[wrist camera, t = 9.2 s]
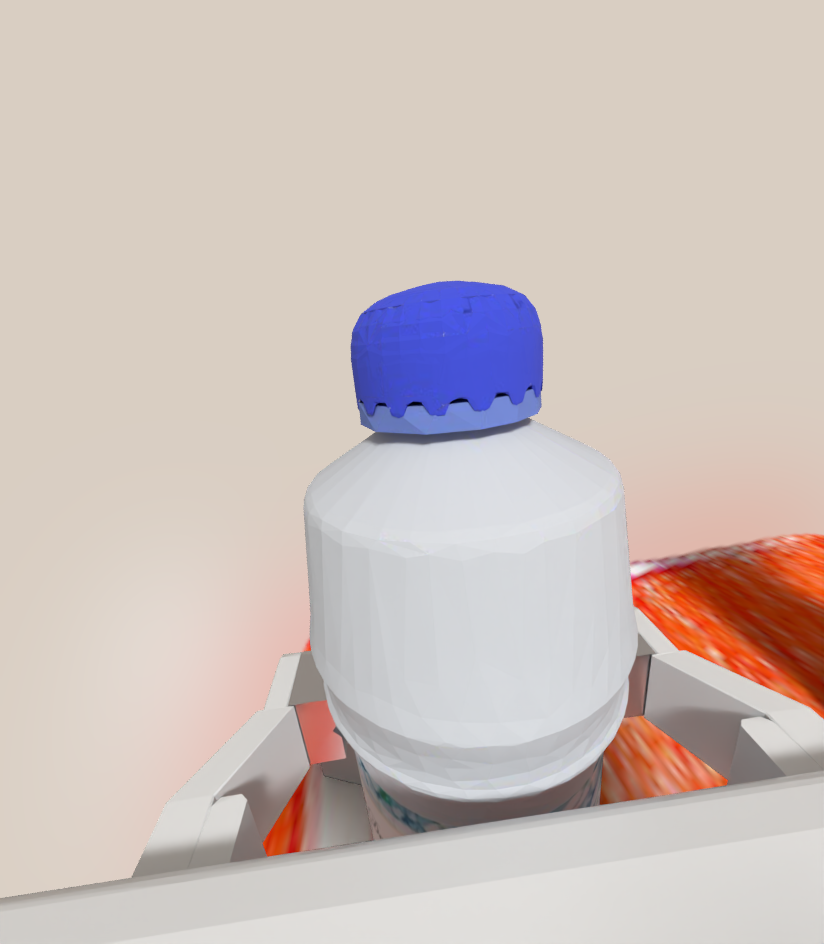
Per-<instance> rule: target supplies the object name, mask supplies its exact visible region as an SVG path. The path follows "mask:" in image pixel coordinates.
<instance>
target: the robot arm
mask: <svg viewBox="0 0 824 944" xmlns="http://www.w3.org/2000/svg"><path fill="white" fill-rule="evenodd" d="M634 612H635V617H636V623H637V628H638V648H637V653H636V657H635V661H634V664H633V666H632V669H631V671H630V673H629V675H628V680H629V693H628V702H627V706H626V711H625V715H624V717H623V718H626V717H635V716H643V715H644V718H646V719H647V720H648V721H650V722H651V723H652V724H654V725H655V726H656V727H658V728H659V729H660V730H662V731H663V732H664V733H666V734H667V735H668V736H670V737H671V738H672V739H674V740H675V741H676V742H678V743H679V744H680V745H682V746H683V747H685V748H686V749H687V750H689V751H690V752H691V753H693V754H694V755H695V756H697V757H698V758H699V759H701V760H702V761H703V762H705V763H706V764H707V765H709V766H710V767H711V768H713V769H714V770H715V771H717V772H718V773H719V774H721V775H722V776H723V777H725V778H726V779H727V780H728V783H727V786H720V787H714V788H707V789H701V790H694V791H688V792H682V793H675V794H669V795H662V796H656V797H650V798H643V799H637V800H631V801H624V802H618V803H612V804H605V805H599V806H592V807H586V808H580V809H573V810H567V811H560V812H554V813H547V814H541V815H534V816H528V817H521V818H515V819H508V820H502V821H495V822H489V823H482V824H476V825H469V826H463V827H457V828H450V829H444V830H437V831H431V832H424V833H418V834H411V835H405V836H398V837H392V838H385V839H379V840H373V841H366V842H360V843H353V844H347V845H340V846H334V847H327V848H321V849H315V850H308V851H302V852H295V853H289V854H282V855H276V856H269V857H267V855H266V852H265V850H264V847H263V844H262V843H263V841H264V840H265V838H266V836H267V835H268V833H269V832H270V830H271V828H272V827H273V825H274V824H275V822H276V820H277V819H278V817H279V816H280V814H281V813H282V811H283V809H284V808H285V806H286V805H287V803H288V801H289V800H290V798H291V797H292V795H293V793H294V792H295V790H296V789H297V787H298V785H299V784H300V782H301V781H302V779H303V778H304V776H305V774H306V773H307V771H308V770H309V768H310V765H311V764H316V763H322V762H328V761H333V760H339V759H344V758H346V755H347V744H348V741H347V740H346V739H345V737H344V736H343V735H342V733H341V732H340V731H339V729H338V728H337V727H336V725H335V722H334V720H333V717H332V715H331V713H330V710H329V708H328V703H327V698H326V694H325V689H324V680H323V678H322V676H321V675H320V673H319V671H318V669H317V667H316V665H315V661H314V658H313V655H312V651H305V652H300V653H291V654H283V656H282V657H281V658H280V660H279V663H278V666H277V670H276V673H275V676H274V679H273V682H272V685H271V688H270V691H269V694H268V698H267V701H266V704H265V707H264V710H262V711H257V712H256V713H255V714H254V715H253V716H252V717H251V718H250V719H249V720H248V721H247V722H246V723H245V724H244V725H243V726H242V727H241V728H240V729H239V730H238V731H237V732H236V733H235V734H234V735H233V736H232V737H231V738H230V740H228V741H227V742H226V743H225V744H224V745H223V746H222V747H221V748H220V749H219V750H218V751H217V752H216V753H215V754H214V755H213V756H212V757H211V758H210V759H209V760H208V761H207V763H206V764H204V766H202V768H201V769H199V771H198V772H197V773H196V774H195V775H194V776H193V777H192V778H191V779H190V780H189V781H188V782H187V783H186V784H185V785H184V786H183V787H182V788H181V789H180V790H179V791H178V792H177V793H176V794H175V795H174V796H173V797H172V798H171V799H170V800H169V801H168V802H167V803H166V805H165V807H164V809H163V811H162V813H161V816H160V818H159V820H158V822H157V824H156V826H155V829H154V831H153V833H152V835H151V837H150V839H149V842H148V843H147V846H146V848H145V850H144V852H143V854H142V856H141V858H140V860H139V863H138V865H137V867H136V869H135V871H134V873H133V876H132V878H128V879H121V880H115V881H109V882H103V883H95V884H90V885H83V886H77V887H70V888H64V889H57V890H50V891H44V892H37V893H32V894H25V895H18V896H12V897H5V898H0V944H824V719H822V718H821V717H820V716H819V715H818V714H817V713H815V712H814V711H813V710H812V709H811V708H809V707H807V706H805V705H803V704H801V703H798V702H796V701H794V700H792V699H790V698H788V697H785V696H783V695H781V694H779V693H777V692H775V691H772V690H770V689H768V688H766V687H764V686H762V685H759V684H757V683H755V682H753V681H751V680H749V679H746V678H744V677H742V676H740V675H738V674H736V673H733V672H731V671H729V670H727V669H725V668H723V667H720V666H718V665H716V664H714V663H712V662H710V661H707V660H705V659H703V658H701V657H699V656H697V655H694V654H692V653H690V652H688V651H686V650H684V651H679V650H678V649H677V648H676V647H675V646H674V645H673V644H672V643H671V642H670V641H669V640H668V639H667V638H666V637H665V636H664V635H663V634H662V633H661V632H660V631H659V629H658V628H657V627H656V626H655V625H654V624H653V623H652V622H651V621H650V620H649V619H648V618H647V617H646V616H645V615H644V614H643V613H642V612H641V611H640V610H639V609H638V608H636V607H634Z"/></svg>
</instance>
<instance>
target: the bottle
mask: <svg viewBox="0 0 824 944" xmlns="http://www.w3.org/2000/svg"><path fill="white" fill-rule="evenodd" d="M351 362H352V370H353V376H354V383H355V391H356V398H357V405H358V409H359V411H360V419H361V425H363V426H365V427H367V428H369V429H371V430H373V431H375V433H374V434H372V435H371V436H369V437H368V438H367V439H365V440H364V441H362V442H361V443H359V444H358V445H357V446H355V447H354V448H352V449H351V450H349V451H348V452H347V453H345V454H344V455H342V456H341V457H340V458H338V459H337V460H335V461H334V462H333V463H331V464H330V465H328V466H327V467H326V468H324V469H323V470H322V471H320V472H319V473H318V474H317V476H316V477H315V478H314V479H313V481H312V482H311V484H310V485H309V486H308V488H307V491H306V495H305V499H304V520H305V536H306V550H307V565H308V580H309V595H310V612H311V616H310V645H311V651H312V655H313V658H314V661H315V665H316V667H317V669H318V671H319V673H320V675H321V676H322V678H323V680H324V689H325V694H326V698H327V703H328V708H329V710H330V713H331V715H332V717H333V720H334V722H335V725H336V727H337V728H338V729H339V731H340V732H341V733H342V735H343V736H344V737H345V739H346V740H347V741H348V743H349V744H350V745H351V747H352V748H353V749H354V751H355V755H356V760H357V765H358V769H359V774H360V779H361V783H362V788H363V793H364V798H365V802H366V807H367V812H368V816H369V821H370V826H371V831H372V835H373V840H379V839H385V838H392V837H398V836H405V835H411V834H418V833H424V832H431V831H437V830H444V829H450V828H457V827H463V826H469V825H476V824H482V823H489V822H495V821H502V820H508V819H515V818H521V817H528V816H534V815H541V814H547V813H554V812H560V811H567V810H573V809H580V808H586V807H592V806H599V804H600V791H601V778H602V765H603V751H604V750H605V749H606V748H607V746H608V745H609V744H610V743H611V742H612V740H613V739H614V737H615V735H616V733H617V731H618V728H619V726H620V724H621V722H622V719H623V717H624V715H625V711H626V706H627V702H628V693H629V680H628V675H629V673H630V671H631V669H632V666H633V664H634V661H635V657H636V653H637V648H638V628H637V623H636V617H635V612H634V606H633V600H632V587H631V574H630V561H629V549H628V536H627V523H626V511H625V498H624V487H623V484H622V479H621V475H620V472H619V471H618V470H617V468H616V467H615V466H614V465H613V463H612V462H611V461H610V459H608V458H607V457H606V456H604V455H603V454H602V453H600V452H599V451H597V450H595V449H593V448H592V447H589V446H588V445H586V444H584V443H582V442H580V441H577V440H575V439H573V438H571V437H569V436H566V435H564V434H562V433H560V432H558V431H556V430H553V429H551V428H549V427H547V426H545V425H543V424H540V423H538V422H536V421H534V420H532V419H530V418H528V417H530V416H533V415H535V414H538V412H539V410H540V408H541V391H542V383H543V337H542V332H541V324H540V321H539V318H538V315H537V312H536V309H535V307H534V306H533V305H532V304H531V303H530V301H529V300H528V299H527V297H526V296H525V295H523V294H521V293H519V292H517V291H515V290H512V289H510V288H508V287H506V286H503V285H495V284H486V283H479V282H464V281H447V282H436V283H432V284H427V285H422V286H419V287H415V288H412V289H408V290H406V291H402V292H400V293H396V294H393V295H390V296H388V297H386V298H384V299H382V300H379V301H377V302H376V303H374V304H373V305H372V306H371V307H370V308H369V309H367V310H366V311H364V313H362V314H361V315H360V317H359V319H358V321H357V323H356V325H355V327H354V329H353V332H352V342H351Z"/></svg>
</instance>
